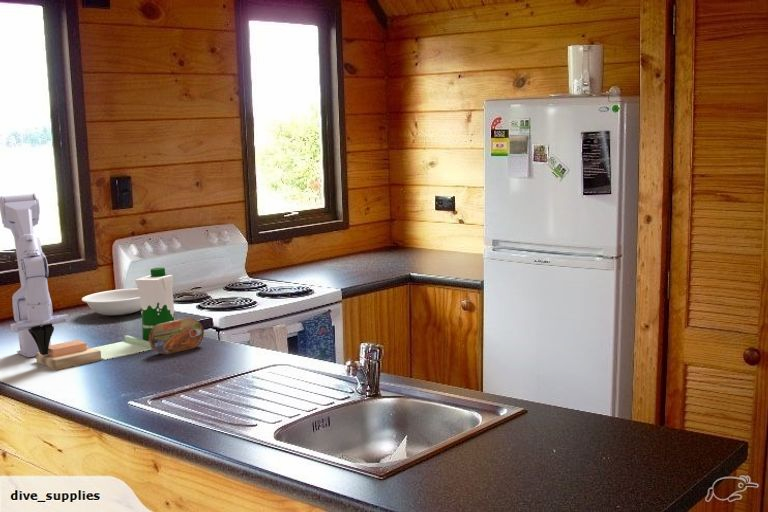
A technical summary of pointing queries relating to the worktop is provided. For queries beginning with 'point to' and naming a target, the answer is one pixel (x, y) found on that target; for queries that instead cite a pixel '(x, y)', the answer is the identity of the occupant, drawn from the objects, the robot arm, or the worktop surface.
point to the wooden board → (69, 359)
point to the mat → (124, 348)
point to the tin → (176, 335)
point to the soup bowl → (114, 301)
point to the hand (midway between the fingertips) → (44, 354)
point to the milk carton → (155, 299)
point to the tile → (66, 348)
